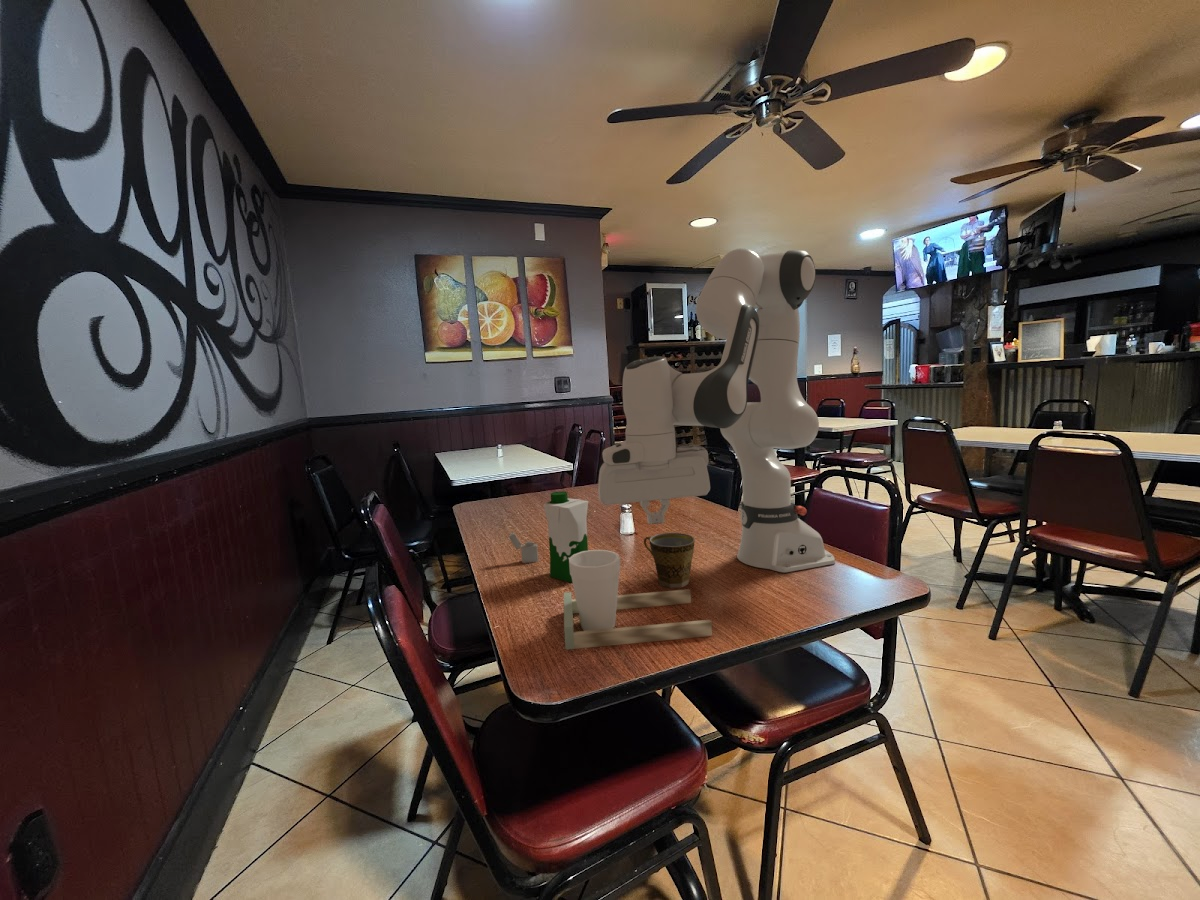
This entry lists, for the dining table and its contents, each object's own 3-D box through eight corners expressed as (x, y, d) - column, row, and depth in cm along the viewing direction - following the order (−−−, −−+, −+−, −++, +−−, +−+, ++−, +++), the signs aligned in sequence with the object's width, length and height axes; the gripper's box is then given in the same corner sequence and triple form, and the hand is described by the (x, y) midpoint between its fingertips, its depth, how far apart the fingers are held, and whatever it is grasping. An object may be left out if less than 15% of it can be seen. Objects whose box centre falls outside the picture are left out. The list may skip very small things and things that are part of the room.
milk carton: (568, 565, 117) (563, 488, 115) (596, 572, 112) (592, 491, 109) (544, 577, 110) (538, 496, 108) (573, 585, 105) (567, 499, 102)
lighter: (538, 559, 123) (536, 530, 122) (537, 561, 121) (535, 532, 120) (511, 561, 123) (509, 532, 122) (510, 564, 121) (508, 534, 120)
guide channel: (689, 600, 94) (689, 589, 94) (711, 635, 80) (711, 622, 80) (572, 611, 92) (571, 599, 92) (574, 648, 78) (573, 634, 78)
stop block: (572, 611, 92) (571, 592, 92) (574, 648, 78) (573, 626, 78) (565, 611, 92) (563, 592, 92) (565, 649, 78) (564, 627, 78)
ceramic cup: (704, 580, 104) (703, 537, 102) (678, 595, 97) (677, 549, 95) (658, 567, 113) (657, 528, 112) (632, 580, 106) (630, 538, 105)
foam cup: (580, 642, 80) (575, 571, 79) (567, 619, 89) (563, 554, 87) (630, 631, 83) (627, 562, 81) (613, 609, 92) (610, 546, 90)
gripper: (702, 441, 87) (705, 512, 88) (594, 451, 85) (600, 523, 87) (713, 445, 80) (716, 522, 82) (596, 456, 79) (603, 534, 81)
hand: (656, 523), depth 85 cm, fingers closed
